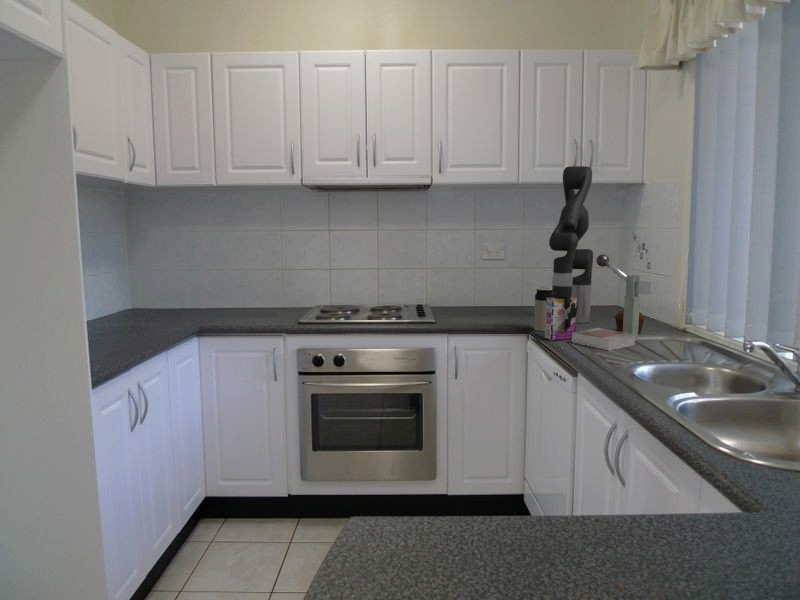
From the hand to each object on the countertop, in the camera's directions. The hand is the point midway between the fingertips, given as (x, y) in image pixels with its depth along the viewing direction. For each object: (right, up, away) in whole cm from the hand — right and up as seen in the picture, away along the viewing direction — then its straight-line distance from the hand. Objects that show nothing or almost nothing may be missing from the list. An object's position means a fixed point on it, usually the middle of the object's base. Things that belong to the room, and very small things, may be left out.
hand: (560, 327), depth 218 cm
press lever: (+25, +14, +1) cm, 29 cm away
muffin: (+31, -3, +12) cm, 34 cm away
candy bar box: (0, -5, +1) cm, 5 cm away
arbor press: (+18, -6, -5) cm, 19 cm away
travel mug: (-2, -2, +19) cm, 19 cm away
